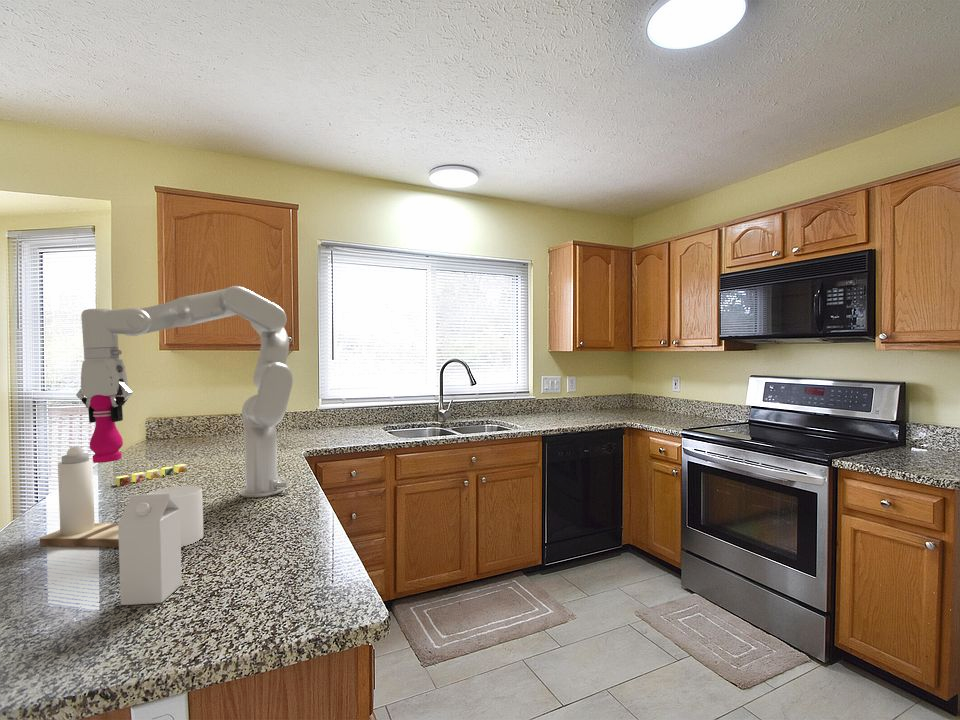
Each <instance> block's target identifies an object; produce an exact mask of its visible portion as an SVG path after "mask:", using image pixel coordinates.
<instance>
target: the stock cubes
mask: <svg viewBox="0 0 960 720" xmlns="http://www.w3.org/2000/svg"><path fill="white" fill-rule="evenodd" d="M185 471H188V464H185V463H180V464H175V465H173V466H165V467H161V468H160V469H158V468H157V469H150V470H146V471H145V472H142V471H141V472H140V471H139V472H134V473H131V476H130V475H126V474H124V475H120V476H119V475H118V476H116V477H115V479H114V485H117V486H116V487H119V486H121V487H124V486H123V485H125V486H128V485H127V484H130V485H131V483H133V482H140V481H144V480H146V481H147V479H146V478H149V479H153V478H158V477H160V478H161V475H164V476H166V475H171V474H174V475H175V473H174V472H177V473H180V472H185ZM158 479H159V478H158ZM144 482H145V481H144ZM140 483H141V482H140Z"/></svg>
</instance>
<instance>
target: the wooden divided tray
mask: <svg viewBox="0 0 960 720" xmlns="http://www.w3.org/2000/svg"><path fill="white" fill-rule="evenodd" d="M94 523H95V528H94V529H92V530H90V531H88V532H84V533H80V534H75V535H61V534H60V529H57V530H56V531H53V532H50V533H48V534H45V535H43V536H40V537H39V547H66V548H67V547H69V548H70V547H71V548H72V547H77V548H78V547H79V548H81V547H83V548H87V547H86V546H101V547H100V548H119V533H118V522H117V523H110V522H109V523H107V522H105V523H100V522H99V523H96V522H94ZM84 546H85V547H84Z"/></svg>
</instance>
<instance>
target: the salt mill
mask: <svg viewBox="0 0 960 720" xmlns="http://www.w3.org/2000/svg"><path fill="white" fill-rule="evenodd" d="M93 463H94V462H93V458H90V454H89V453H88V452H84V449H83V448H82V446H78V445H75V446H71V447H69V448H68V450H67V451H66V454H64V455H62V456H61V462H58V463H57V473H58V475H57V476H58V477H57V479H58V504H59V505H58V506H59V508H58V510H59V530H60V534H61V535H75V534H80V533H84V532H88V531H90V530H92V529H94V528H95V523H96V522H95V501H94V500H95V498H94V495H95V494H94V470H93V469H94V467H93V466H94V465H93Z"/></svg>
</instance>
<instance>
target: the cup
mask: <svg viewBox="0 0 960 720" xmlns="http://www.w3.org/2000/svg"><path fill="white" fill-rule="evenodd" d="M168 493H170V500H171V501H172V502H173V503H174V504H175V505H176V506H177V507H178V508H179V509H180V538H181V547H183V546H186V547H188V546H187V545H189V546H191V545H190V544H192V545H194V544H196V543H198V542H200V541H201V540H202V539H203V538H204V503H203V502H204V501H203V500H204V499H203V488H202V487H201V486H199V485H193V484H190V485H185V484H184V485H175V486H169V487H164V488H160V489H156V490H153V491H150V492H149V493H147V494H168ZM200 539H201V540H200ZM199 540H200V541H199ZM197 541H198V542H197ZM195 542H196V543H195ZM193 543H194V544H193ZM183 548H184V547H183Z"/></svg>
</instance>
